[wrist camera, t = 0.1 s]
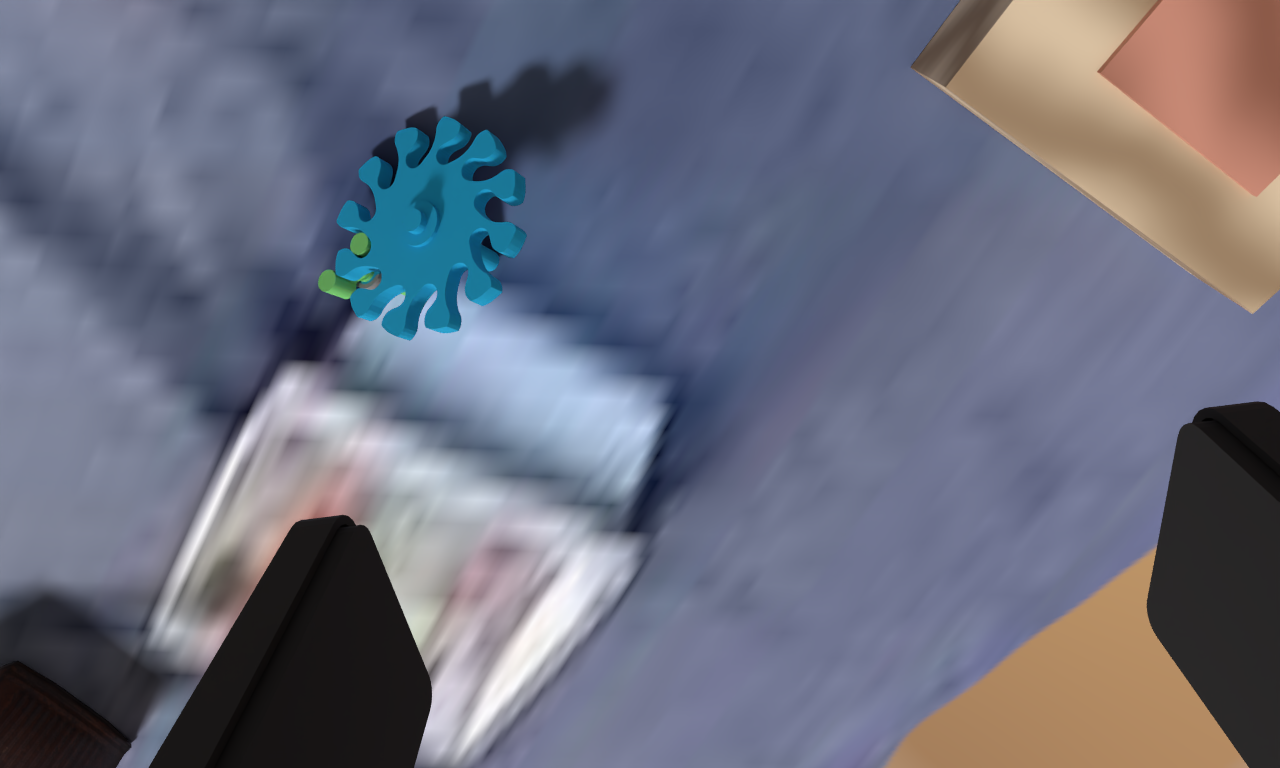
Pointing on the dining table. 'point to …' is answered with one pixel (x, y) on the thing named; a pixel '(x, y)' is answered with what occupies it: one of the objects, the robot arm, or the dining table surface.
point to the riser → (1139, 116)
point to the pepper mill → (51, 726)
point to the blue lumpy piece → (427, 231)
